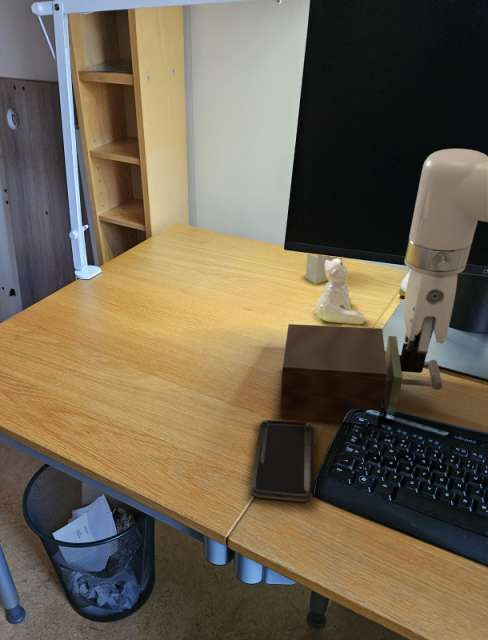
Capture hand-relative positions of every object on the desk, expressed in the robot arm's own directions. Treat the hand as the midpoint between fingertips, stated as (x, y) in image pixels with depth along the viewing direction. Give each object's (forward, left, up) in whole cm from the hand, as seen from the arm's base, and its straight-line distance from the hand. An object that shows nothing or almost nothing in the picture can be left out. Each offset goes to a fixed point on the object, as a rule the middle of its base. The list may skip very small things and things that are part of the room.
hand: (410, 369), depth 84 cm
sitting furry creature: (+10, -27, -7) cm, 30 cm away
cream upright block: (+13, -45, -7) cm, 47 cm away
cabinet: (+11, 0, -6) cm, 13 cm away
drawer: (+6, 0, -6) cm, 8 cm away
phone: (+17, +16, -7) cm, 24 cm away
